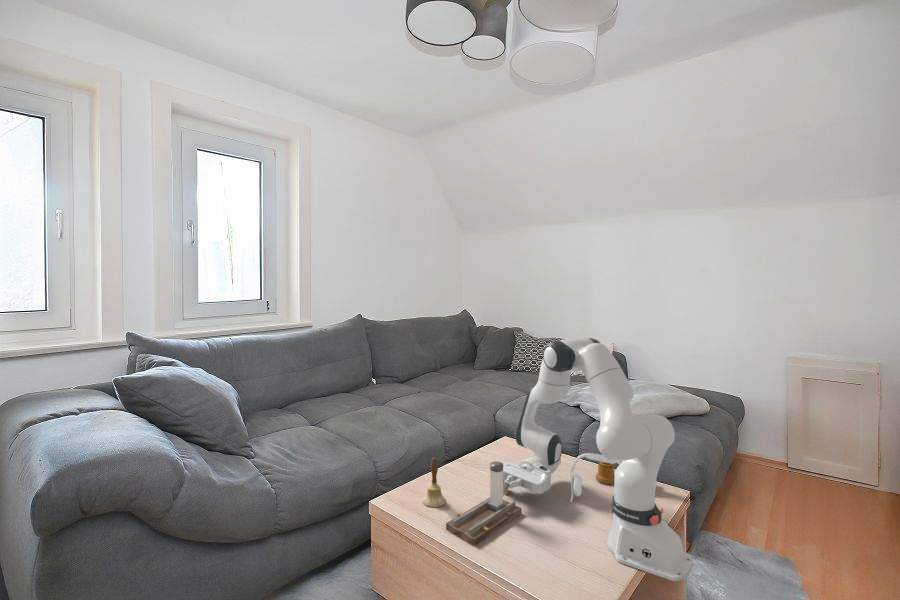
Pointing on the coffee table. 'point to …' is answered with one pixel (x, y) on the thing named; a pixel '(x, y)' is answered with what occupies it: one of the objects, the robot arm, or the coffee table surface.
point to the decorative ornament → (505, 489)
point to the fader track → (482, 521)
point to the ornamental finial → (605, 473)
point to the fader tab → (496, 486)
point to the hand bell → (434, 489)
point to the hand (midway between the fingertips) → (507, 484)
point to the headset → (577, 481)
